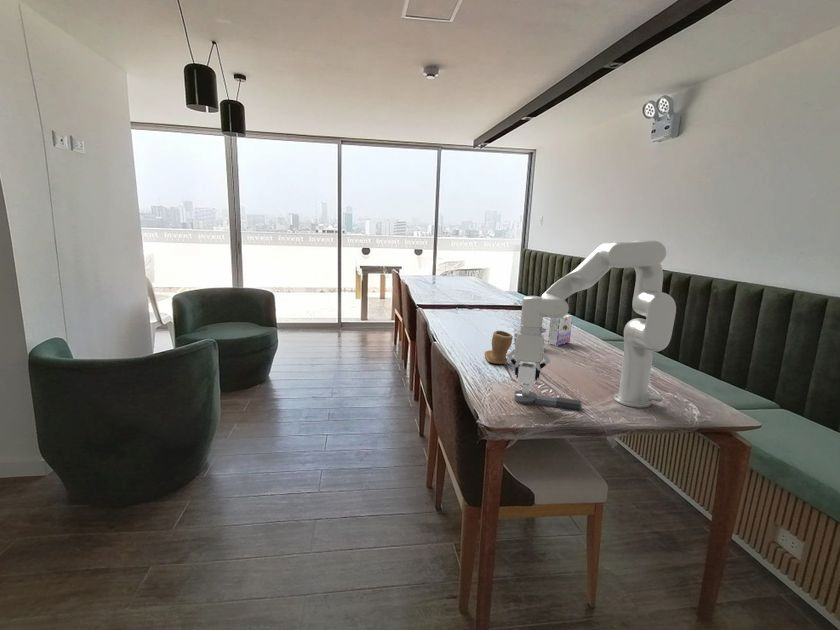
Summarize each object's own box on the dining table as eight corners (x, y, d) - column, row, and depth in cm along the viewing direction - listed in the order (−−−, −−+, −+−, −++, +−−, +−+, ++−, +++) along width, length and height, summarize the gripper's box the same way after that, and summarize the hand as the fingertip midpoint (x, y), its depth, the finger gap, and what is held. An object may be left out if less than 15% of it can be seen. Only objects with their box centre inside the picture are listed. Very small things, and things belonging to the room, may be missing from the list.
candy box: (561, 341, 250) (563, 313, 247) (570, 343, 246) (572, 315, 242) (547, 344, 241) (550, 316, 238) (556, 346, 237) (559, 317, 234)
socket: (535, 379, 157) (536, 363, 156) (534, 384, 151) (535, 368, 150) (519, 377, 159) (520, 361, 158) (517, 382, 153) (518, 366, 152)
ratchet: (580, 404, 154) (582, 387, 153) (581, 412, 147) (583, 395, 145) (515, 395, 161) (516, 379, 160) (513, 402, 154) (514, 385, 153)
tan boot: (512, 366, 198) (514, 335, 195) (487, 365, 198) (489, 334, 195) (507, 357, 213) (509, 328, 210) (484, 356, 213) (485, 327, 210)
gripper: (556, 330, 152) (551, 378, 156) (507, 326, 158) (504, 372, 161) (555, 335, 145) (550, 384, 149) (505, 330, 151) (501, 378, 154)
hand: (526, 377), depth 155 cm, fingers closed on socket, 6 cm apart
